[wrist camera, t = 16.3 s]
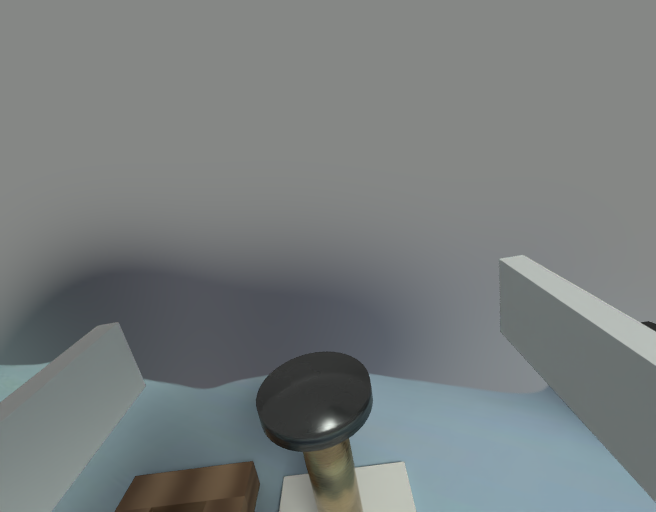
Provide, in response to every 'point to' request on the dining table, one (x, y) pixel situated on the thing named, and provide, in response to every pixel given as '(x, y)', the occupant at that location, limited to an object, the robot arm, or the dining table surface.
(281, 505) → the pad
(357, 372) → the mushroom top post
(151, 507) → the eye block
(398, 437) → the dining table surface
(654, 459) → the robot arm
